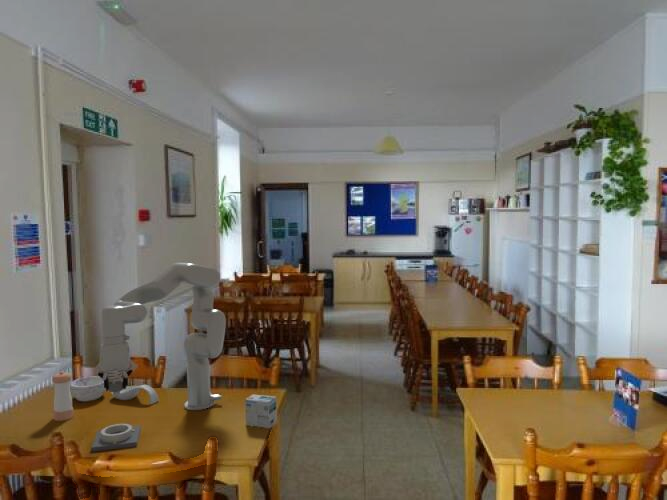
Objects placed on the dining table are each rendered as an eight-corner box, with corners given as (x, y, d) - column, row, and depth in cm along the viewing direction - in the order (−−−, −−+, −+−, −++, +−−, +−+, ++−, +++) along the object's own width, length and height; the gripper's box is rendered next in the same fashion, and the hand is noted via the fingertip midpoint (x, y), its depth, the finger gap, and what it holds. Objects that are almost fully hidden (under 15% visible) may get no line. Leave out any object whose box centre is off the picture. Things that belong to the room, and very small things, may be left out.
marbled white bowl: (98, 404, 229) (97, 386, 228) (63, 404, 229) (62, 386, 228) (113, 392, 244) (112, 375, 243) (81, 392, 244) (80, 375, 244)
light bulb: (111, 394, 193) (109, 362, 192) (126, 393, 193) (125, 361, 192) (105, 399, 187) (104, 366, 186) (122, 398, 188) (120, 366, 187)
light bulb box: (277, 422, 206) (277, 396, 205) (270, 429, 199) (269, 401, 199) (253, 419, 209) (252, 393, 209) (245, 426, 203) (244, 399, 202)
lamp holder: (140, 429, 201) (140, 419, 200) (136, 446, 186) (136, 435, 186) (98, 434, 197) (97, 424, 196) (91, 451, 182) (90, 440, 182)
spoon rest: (105, 400, 234) (105, 384, 233) (126, 392, 244) (125, 377, 244) (146, 408, 224) (145, 391, 223) (165, 399, 235) (164, 383, 234)
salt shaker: (77, 415, 216) (75, 370, 214) (61, 422, 209) (59, 375, 208) (65, 413, 219) (63, 368, 217) (49, 419, 212) (47, 373, 211)
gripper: (140, 335, 195) (141, 383, 196) (90, 339, 190) (92, 388, 191) (138, 340, 188) (140, 389, 189) (86, 344, 183) (88, 394, 184)
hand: (116, 388), depth 190 cm, fingers closed on light bulb, 5 cm apart
